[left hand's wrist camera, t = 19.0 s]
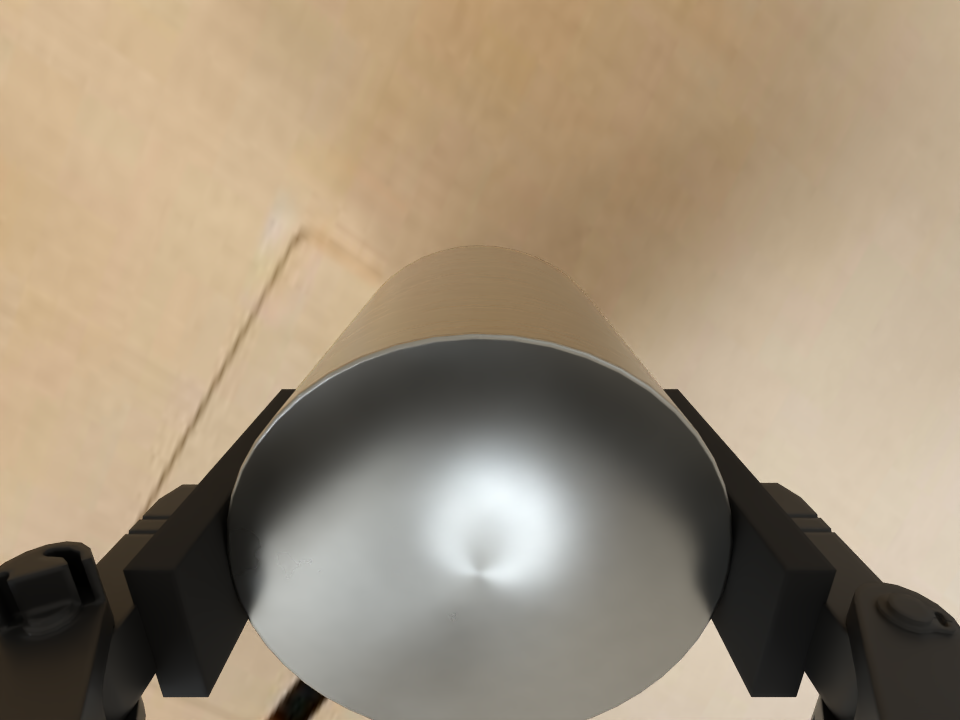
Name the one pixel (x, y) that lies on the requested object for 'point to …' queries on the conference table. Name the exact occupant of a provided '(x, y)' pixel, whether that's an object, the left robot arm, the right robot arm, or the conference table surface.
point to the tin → (479, 506)
